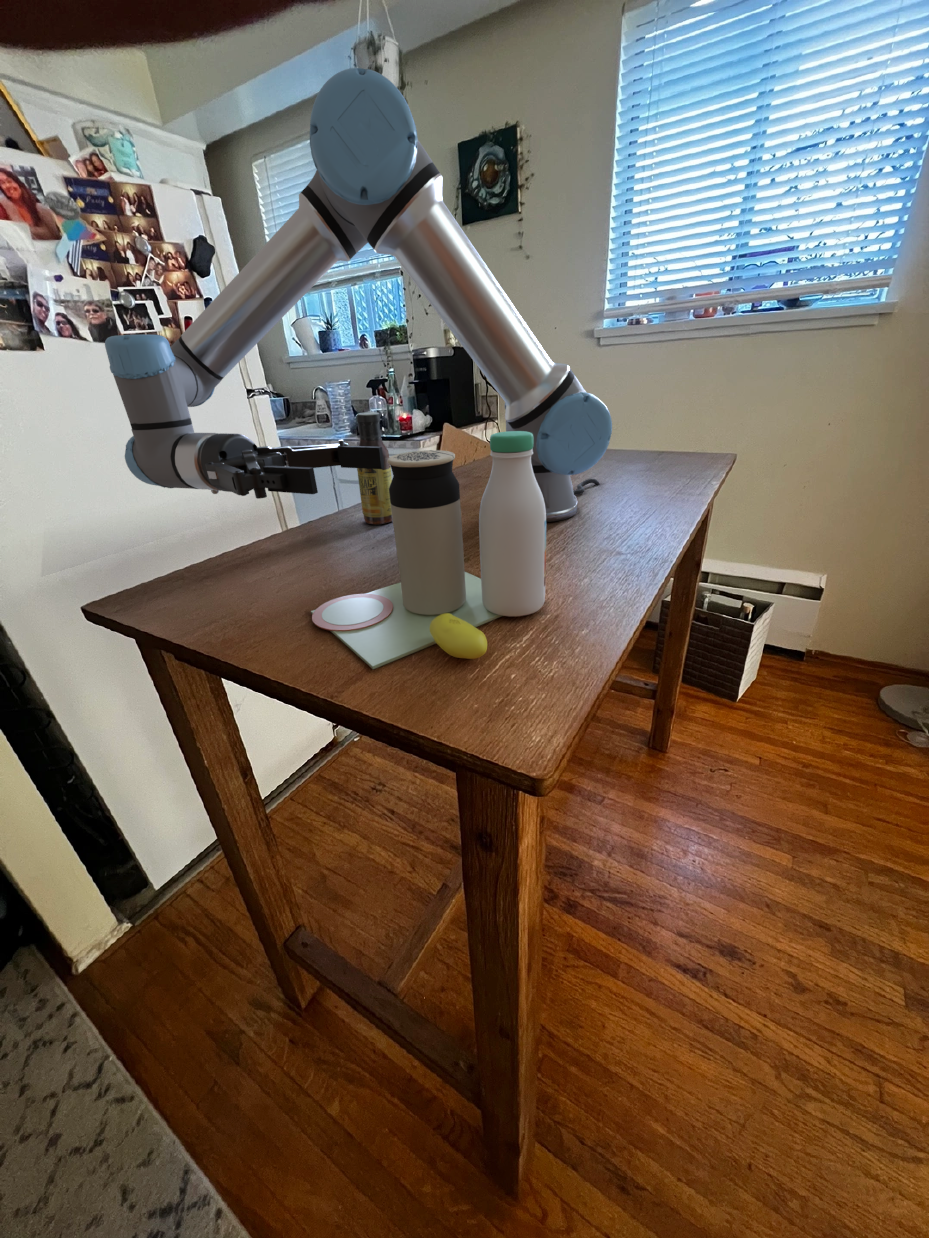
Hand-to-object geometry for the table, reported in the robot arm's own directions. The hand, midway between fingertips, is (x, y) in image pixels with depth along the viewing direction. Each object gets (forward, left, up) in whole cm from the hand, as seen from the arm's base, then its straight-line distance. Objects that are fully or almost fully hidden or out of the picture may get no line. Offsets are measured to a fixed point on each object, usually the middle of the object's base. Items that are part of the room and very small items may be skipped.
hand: (351, 468), depth 60 cm
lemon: (0, +20, -17) cm, 26 cm away
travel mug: (-5, +9, -17) cm, 19 cm away
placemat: (-3, +8, -17) cm, 19 cm away
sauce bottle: (-18, -30, -17) cm, 39 cm away
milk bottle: (-12, +16, -17) cm, 26 cm away
